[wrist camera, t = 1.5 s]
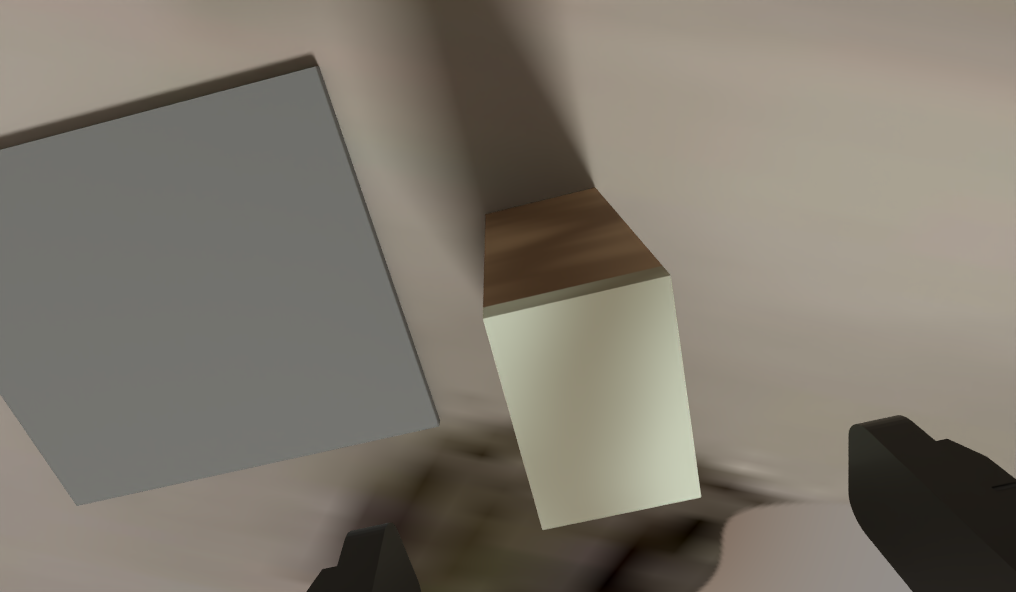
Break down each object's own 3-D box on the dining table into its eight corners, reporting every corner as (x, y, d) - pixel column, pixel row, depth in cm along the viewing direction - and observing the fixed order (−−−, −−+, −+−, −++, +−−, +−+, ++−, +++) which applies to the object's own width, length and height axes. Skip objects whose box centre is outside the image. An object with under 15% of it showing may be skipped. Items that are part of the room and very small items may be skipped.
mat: (319, 66, 18) (315, 66, 18) (440, 420, 23) (439, 426, 23) (-130, 184, 19) (-142, 187, 19) (83, 499, 24) (76, 506, 24)
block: (595, 187, 20) (670, 275, 12) (621, 335, 22) (700, 497, 14) (485, 214, 20) (482, 318, 12) (522, 357, 22) (542, 529, 14)
